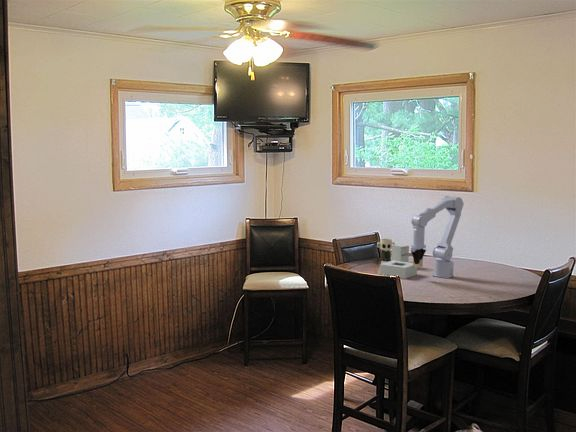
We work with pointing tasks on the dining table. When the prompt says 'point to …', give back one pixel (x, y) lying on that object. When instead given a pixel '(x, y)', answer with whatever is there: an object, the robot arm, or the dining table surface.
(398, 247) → the supplement box
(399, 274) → the white square ring
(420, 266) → the wooden block
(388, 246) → the character mug
